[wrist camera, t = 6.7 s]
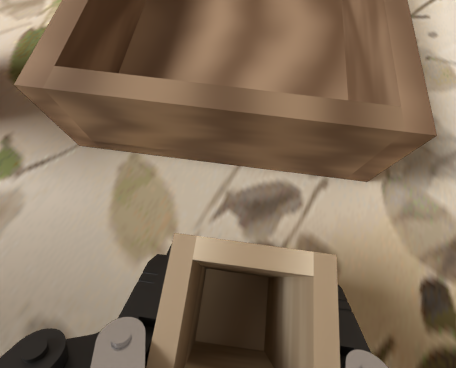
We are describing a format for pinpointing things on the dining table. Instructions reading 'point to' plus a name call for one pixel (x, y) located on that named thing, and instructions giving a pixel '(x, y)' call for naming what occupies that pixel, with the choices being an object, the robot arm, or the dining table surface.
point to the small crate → (246, 307)
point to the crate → (237, 81)
